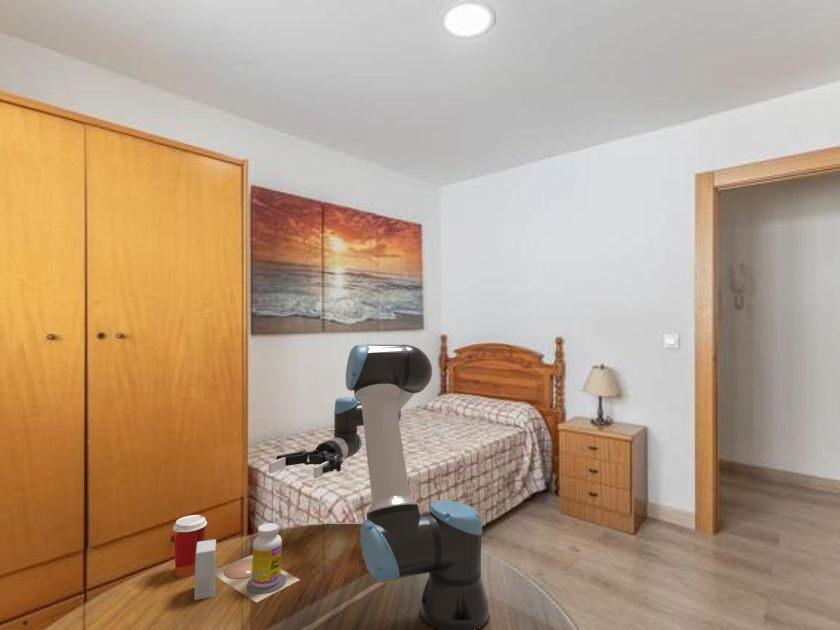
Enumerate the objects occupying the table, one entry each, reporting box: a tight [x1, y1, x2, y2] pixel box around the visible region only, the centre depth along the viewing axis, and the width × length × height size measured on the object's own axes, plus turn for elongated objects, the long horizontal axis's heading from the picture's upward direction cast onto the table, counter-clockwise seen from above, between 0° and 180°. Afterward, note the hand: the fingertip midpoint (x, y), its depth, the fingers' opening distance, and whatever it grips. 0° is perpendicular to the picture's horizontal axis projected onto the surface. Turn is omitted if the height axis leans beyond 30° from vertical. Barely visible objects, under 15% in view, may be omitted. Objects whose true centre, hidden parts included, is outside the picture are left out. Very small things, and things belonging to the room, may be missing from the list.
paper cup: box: [172, 514, 208, 578], centre depth 114 cm, size 8×8×14 cm
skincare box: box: [193, 539, 217, 601], centre depth 105 cm, size 6×4×12 cm
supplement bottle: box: [252, 522, 283, 588], centre depth 109 cm, size 7×7×13 cm
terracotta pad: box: [224, 559, 252, 579], centre depth 115 cm, size 9×9×1 cm
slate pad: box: [247, 574, 286, 594], centre depth 108 cm, size 9×9×1 cm
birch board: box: [215, 554, 301, 604], centre depth 111 cm, size 20×12×2 cm, turn 53°
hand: (292, 470), depth 119 cm, fingers open, 13 cm apart
